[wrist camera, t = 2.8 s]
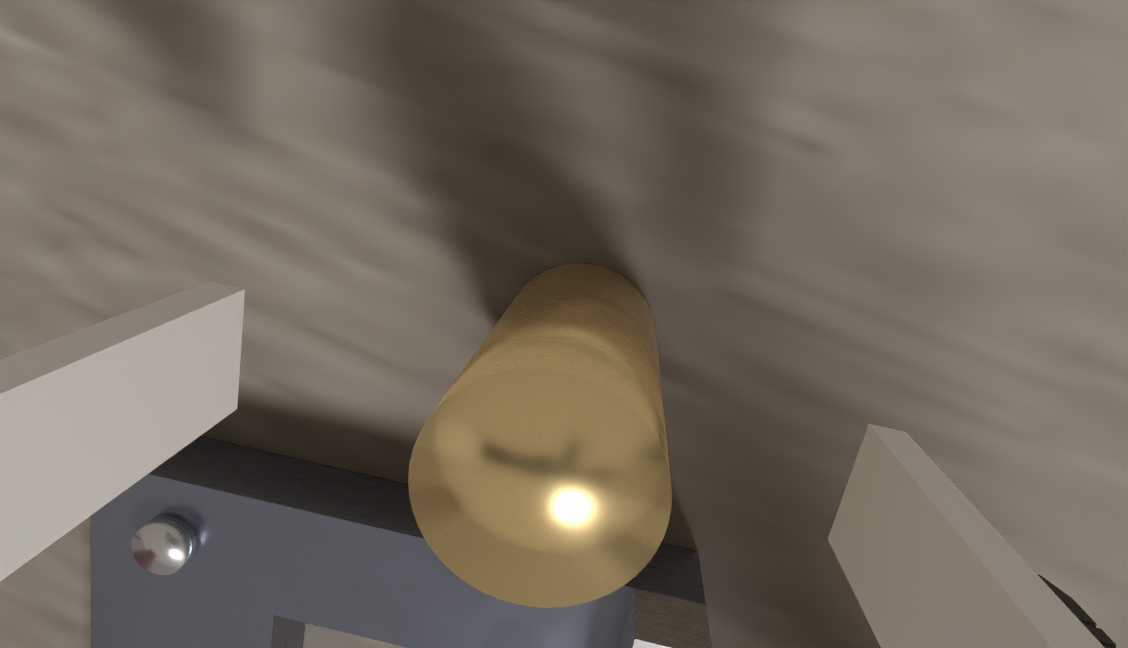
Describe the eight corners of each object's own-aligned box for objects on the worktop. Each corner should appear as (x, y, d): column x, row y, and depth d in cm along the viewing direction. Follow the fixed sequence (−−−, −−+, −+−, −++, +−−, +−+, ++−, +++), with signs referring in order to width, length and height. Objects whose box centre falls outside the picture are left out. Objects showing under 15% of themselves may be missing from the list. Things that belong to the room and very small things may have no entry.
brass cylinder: (672, 281, 19) (701, 403, 11) (637, 422, 21) (637, 633, 12) (519, 248, 20) (427, 341, 11) (493, 390, 21) (392, 575, 12)
